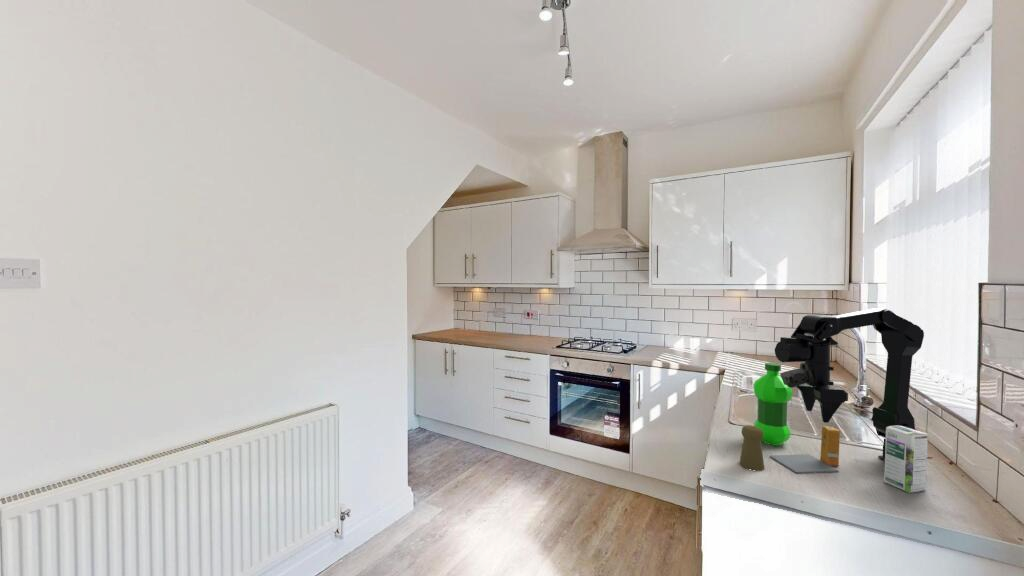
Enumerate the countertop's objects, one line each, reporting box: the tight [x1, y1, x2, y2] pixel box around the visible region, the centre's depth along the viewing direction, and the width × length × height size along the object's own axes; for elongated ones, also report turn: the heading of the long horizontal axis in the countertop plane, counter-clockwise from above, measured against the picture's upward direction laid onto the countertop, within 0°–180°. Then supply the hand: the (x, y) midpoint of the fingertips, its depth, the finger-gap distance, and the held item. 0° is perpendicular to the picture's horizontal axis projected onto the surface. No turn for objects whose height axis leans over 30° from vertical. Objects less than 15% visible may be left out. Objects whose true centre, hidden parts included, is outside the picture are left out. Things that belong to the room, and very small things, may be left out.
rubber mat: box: [769, 453, 839, 474], centre depth 113 cm, size 12×10×1 cm
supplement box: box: [819, 425, 841, 467], centre depth 113 cm, size 3×3×10 cm
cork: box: [739, 424, 765, 472], centre depth 111 cm, size 6×6×11 cm
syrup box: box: [883, 425, 929, 494], centre depth 100 cm, size 6×6×14 cm
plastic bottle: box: [752, 362, 793, 446], centre depth 127 cm, size 10×10×25 cm
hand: (816, 416), depth 112 cm, fingers open, 9 cm apart
